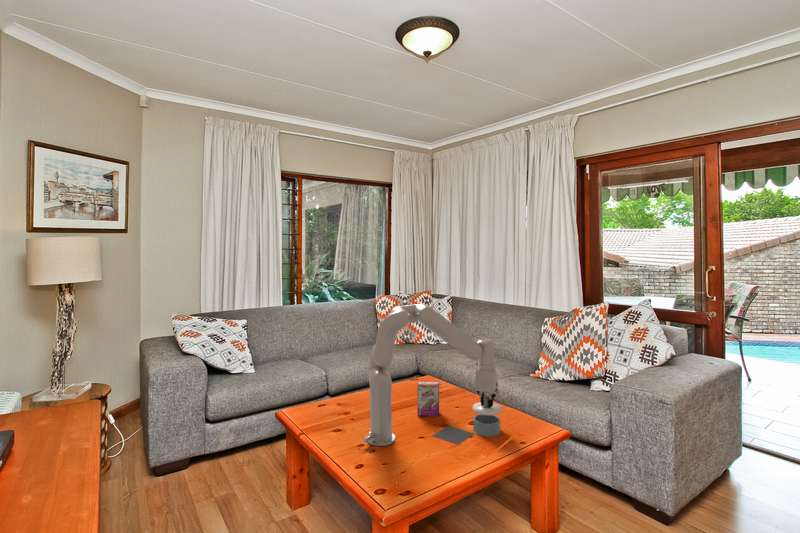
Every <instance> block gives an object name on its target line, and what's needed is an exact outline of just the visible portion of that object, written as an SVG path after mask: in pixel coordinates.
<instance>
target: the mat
mask: <svg viewBox="0 0 800 533" xmlns="http://www.w3.org/2000/svg"><path fill="white" fill-rule="evenodd" d="M475 434H476V433H475V432H471V431H468V430H466V429H462V428H459V427H456V426H451V425H447V426H445V427H444V428H442V429H440V430H439V431H436V433H434V434H432V435H431V437H433V438H436V439H440V440H443V441H446V442H449V443H452V444H455V445H457V446H459V445H460V444H461V443H463V442H464V441H466V440H467V439H469V438H470V437H472V436H473V435H475Z"/></svg>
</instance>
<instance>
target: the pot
mask: <svg viewBox="0 0 800 533" xmlns="http://www.w3.org/2000/svg"><path fill="white" fill-rule="evenodd" d="M472 419H473V423H472V424H473V433H475V434H476V435H477V436H482V437H489V438H490V437H497V436H498V435H500V434H501V418H500V417H499V416H497V415H481V414H475V415H474V416H473V418H472Z"/></svg>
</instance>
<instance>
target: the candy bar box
mask: <svg viewBox="0 0 800 533" xmlns="http://www.w3.org/2000/svg"><path fill="white" fill-rule="evenodd" d="M417 416H418V417H421V416H422V417H429V416H434V417H435V416H440V382H436V381H418V382H417Z"/></svg>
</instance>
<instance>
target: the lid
mask: <svg viewBox="0 0 800 533" xmlns="http://www.w3.org/2000/svg"><path fill="white" fill-rule="evenodd" d="M488 399H489V394H488V395H487V394H486V395H485V394H484V396H483V400H484V406H481V401H480V402H476V403H474V404H473V405H472V411H473V412H474V413H475V414H477V415H479V414H481V415H495V416H497V415H498V414H501V413H502V406H501V405H500V404H498V403H496V402H493V406H492V407H491V408H489V407H488Z"/></svg>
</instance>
